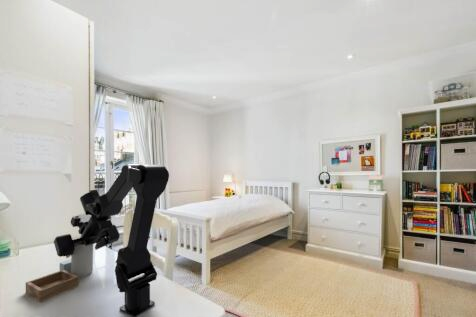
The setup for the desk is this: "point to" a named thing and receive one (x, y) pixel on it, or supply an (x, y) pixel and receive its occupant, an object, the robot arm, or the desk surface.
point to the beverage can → (82, 260)
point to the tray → (51, 285)
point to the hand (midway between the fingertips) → (81, 252)
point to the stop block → (66, 265)
